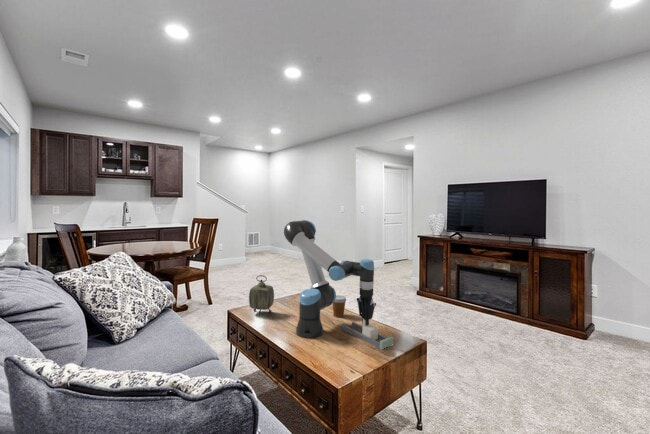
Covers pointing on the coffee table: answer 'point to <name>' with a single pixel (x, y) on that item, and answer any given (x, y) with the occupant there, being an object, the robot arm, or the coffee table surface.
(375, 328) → the block
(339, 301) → the disposable coffee cup
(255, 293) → the tabletop clock
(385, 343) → the chute
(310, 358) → the coffee table surface
